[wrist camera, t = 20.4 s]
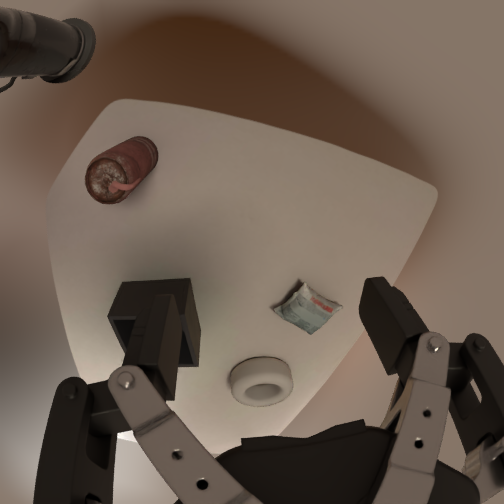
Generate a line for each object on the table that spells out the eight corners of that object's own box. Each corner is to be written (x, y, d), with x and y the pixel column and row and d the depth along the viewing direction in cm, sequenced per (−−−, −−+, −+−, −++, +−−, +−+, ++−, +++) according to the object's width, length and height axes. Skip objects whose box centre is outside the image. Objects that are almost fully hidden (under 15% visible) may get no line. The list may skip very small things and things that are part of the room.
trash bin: (140, 331, 58) (131, 366, 50) (122, 281, 51) (107, 316, 43) (201, 330, 59) (198, 366, 50) (190, 277, 52) (184, 314, 43)
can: (158, 175, 42) (132, 210, 30) (120, 172, 41) (82, 205, 29) (162, 137, 39) (134, 156, 27) (123, 134, 38) (82, 153, 26)
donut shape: (300, 373, 70) (304, 394, 64) (252, 394, 73) (254, 414, 67) (270, 346, 63) (274, 369, 57) (218, 370, 66) (218, 392, 61)
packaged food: (301, 273, 53) (307, 290, 49) (340, 300, 58) (348, 317, 53) (271, 303, 56) (274, 320, 52) (311, 326, 61) (316, 342, 57)
